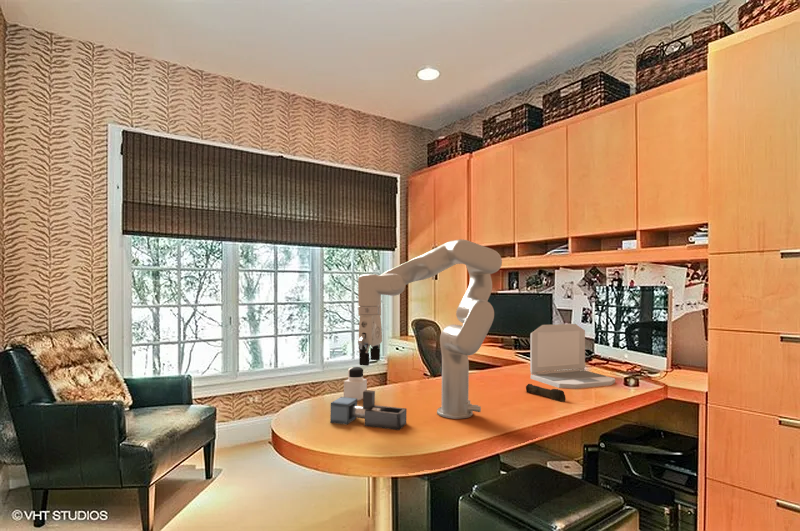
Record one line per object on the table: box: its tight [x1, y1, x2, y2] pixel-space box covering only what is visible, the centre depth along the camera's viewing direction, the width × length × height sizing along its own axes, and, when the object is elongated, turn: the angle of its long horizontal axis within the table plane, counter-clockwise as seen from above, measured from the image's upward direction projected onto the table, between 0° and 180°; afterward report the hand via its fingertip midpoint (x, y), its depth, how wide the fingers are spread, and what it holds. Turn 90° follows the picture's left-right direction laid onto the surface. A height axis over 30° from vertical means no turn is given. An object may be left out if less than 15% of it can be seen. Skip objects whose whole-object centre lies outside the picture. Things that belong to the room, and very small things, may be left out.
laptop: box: [529, 323, 616, 390], centre depth 220 cm, size 33×24×26 cm
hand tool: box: [525, 383, 567, 403], centre depth 189 cm, size 19×4×5 cm, turn 30°
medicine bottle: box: [343, 366, 368, 401], centre depth 184 cm, size 7×7×12 cm
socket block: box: [329, 396, 358, 425], centre depth 155 cm, size 6×8×6 cm
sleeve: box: [364, 404, 407, 431], centre depth 151 cm, size 12×7×5 cm, turn 72°
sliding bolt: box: [349, 389, 382, 420], centre depth 153 cm, size 14×4×9 cm, turn 72°
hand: (369, 362), depth 153 cm, fingers open, 9 cm apart
